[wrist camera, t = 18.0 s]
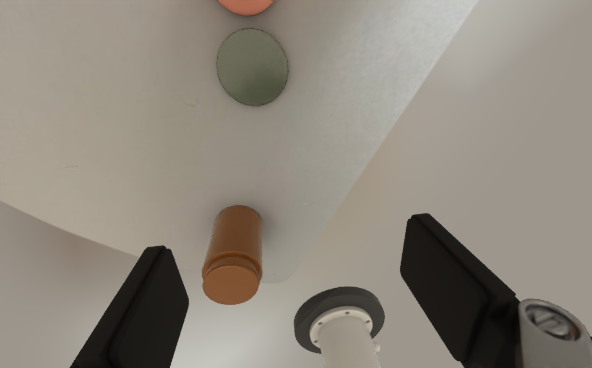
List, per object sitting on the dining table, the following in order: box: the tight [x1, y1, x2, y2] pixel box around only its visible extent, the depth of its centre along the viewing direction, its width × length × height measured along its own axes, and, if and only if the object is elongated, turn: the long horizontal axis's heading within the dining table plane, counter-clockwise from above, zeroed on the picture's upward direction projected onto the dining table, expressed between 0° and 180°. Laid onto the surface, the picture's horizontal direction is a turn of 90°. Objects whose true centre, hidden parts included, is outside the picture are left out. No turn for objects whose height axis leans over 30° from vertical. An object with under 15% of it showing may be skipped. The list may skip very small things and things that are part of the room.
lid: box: [217, 28, 288, 106], centre depth 26 cm, size 7×7×2 cm
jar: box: [202, 206, 262, 305], centre depth 31 cm, size 6×6×11 cm
